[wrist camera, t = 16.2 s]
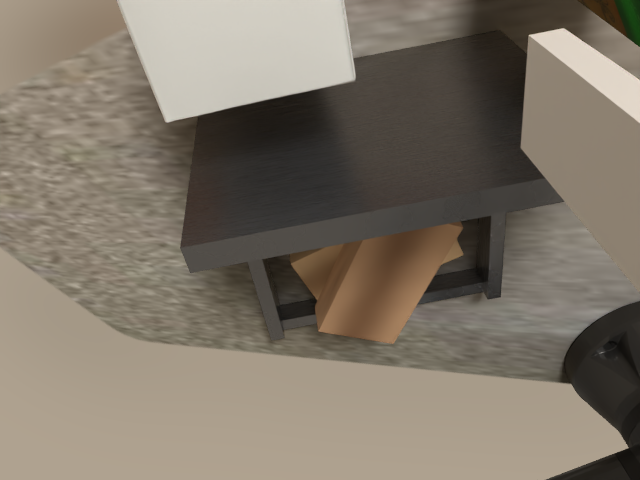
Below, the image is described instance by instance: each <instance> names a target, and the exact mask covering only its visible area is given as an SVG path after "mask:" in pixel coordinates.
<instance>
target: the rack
mask: <svg viewBox="0 0 640 480" xmlns="http://www.w3.org/2000/svg"><path fill="white" fill-rule="evenodd" d="M353 61H354V67H355V74H356V79H355V81H354V82H350V83H345V84H341V85H336V86H331V87H326V88H321V89H316V90H311V91H307V92H302V93H297V94H292V95H287V96H283V97H278V98H274V99H269V100H264V101H259V102H255V103H251V104H246V105H242V106H237V107H233V108H229V109H224V110H221V111H215V112H212V113H208V114H203V115H199V116H198V121H197V128H196V136H195V143H194V150H193V158H192V165H191V173H190V180H189V188H188V195H187V202H186V210H185V217H184V225H183V232H182V239H181V247H180V248H181V251H182V253H183V256H184V258H185V261H186V263H187V266H188V268H189V271H190V273H193V272H198V271H203V270H208V269H214V268H219V267H224V266H229V265H235V264H240V263H245V262H248V266H249V269H250V272H251V275H252V279H253V282H254V285H255V288H256V292H257V295H258V298H259V301H260V305H261V308H262V311H263V315H264V318H265V321H266V324H267V328H268V331H269V334H270V337H271V340H277V339H282V338H284V330H286V329H291V328H296V327H302V326H307V325H312V324H317V319H316V312H315V305H316V303H317V300H316V299H311V300H306V301H301V302H296V303H290V304H285V305H280V303H279V300H278V296H277V292H276V289H275V285H274V282H273V278H272V274H271V271H270V267H269V264H268V260H267V258H271V257H276V256H282V255H287V254H292V253H297V252H303V251H308V250H313V249H318V248H324V247H329V246H334V245H339V244H345V243H350V242H355V241H360V240H366V239H371V238H376V237H381V236H387V235H392V234H397V233H402V232H407V231H413V230H418V229H423V228H428V227H434V226H439V225H444V224H449V223H455V222H460V221H465V220H470V219H476V218H478V243H477V268H474V269H469V270H464V271H459V272H453V273H448V274H443V275H438V276H434V277H433V279H432V280H431V282H430V284H429V285H428V287H427V289H426V290H425V292H424V294H423V295H422V297H421V299H420V300H419V302H418V304H423V303H428V302H433V301H439V300H444V299H449V298H454V297H460V296H465V295H470V294H475V293H481V292H484V293H485V295H486V297H487V299H492V298H498V297H501V284H502V269H503V253H504V237H505V222H506V213H507V212H512V211H518V210H523V209H528V208H533V207H539V206H544V205H549V204H554V203H560V202H565V201H564V200H563V199H562V198H561V196H560V195H559V194H558V193H557V192H556V190H555V189H554V188H553V187H552V186H551V184H550V183H549V182H548V181H547V179H546V178H545V177H544V176H543V175H542V173H541V172H540V171H539V170H538V168H537V167H536V166H535V165H534V164H533V162H532V161H531V160H530V159H529V158H528V156H527V155H526V154H525V153H524V151H523V150H522V149H521V134H522V120H523V106H524V92H525V78H526V64H527V53H526V52H524V51H523V50H522V49H521V48H520V47H519V46H518V45H516V44H515V43H514V42H513V41H512V40H511V39H509V38H508V37H507V36H506V35H505V34H504V33H503V32H501V31H494V32H489V33H484V34H479V35H474V36H468V37H463V38H458V39H453V40H448V41H442V42H437V43H432V44H427V45H422V46H416V47H411V48H406V49H401V50H396V51H391V52H385V53H380V54H375V55H370V56H365V57H359V58H354V59H353Z"/></svg>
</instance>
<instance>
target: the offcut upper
mask: <svg viewBox="0 0 640 480" xmlns="http://www.w3.org/2000/svg"><path fill="white" fill-rule="evenodd" d="M462 229H463V226H462V224H461V222H455V223H449V224H444V225H439V226H434V227H428V228H423V229H418V230H413V231H407V232H402V233H397V234H392V235H387V236H381V237H376V238H371V239H366V240H360V241H355V242H350V243H345V244H344V245H343V247H342V249H341V251H340V253H339V255H338V257H337V260H336V262H335V264H334V266H333V268H332V270H331V272H330V275H329V277H328V279H327V281H326V283H325V285H324V288H323V290H322V292H321V294H320V296H319V298H318V300H317V303H316V305H315V312H316V319H317V325H318V331H319V332H325V333H331V334H337V335H343V336H349V337H355V338H361V339H367V340H373V341H379V342H385V343H391V344H394V342H395V340H396V339H397V337H398V335H399V334H400V332H401V330H402V329H403V327H404V325H405V324H406V322H407V320H408V319H409V317H410V315H411V314H412V312H413V310H414V309H415V307H416V305H417V304H418V302H419V300H420V299H421V297H422V295H423V294H424V292H425V290H426V289H427V287H428V285H429V284H430V282H431V280H432V279H433V277H434V275H435V274H436V272H437V270H438V269H439V267H440V265H441V264H442V262H443V260H444V259H445V257H446V256H447V254H448V252H449V251H450V249H451V247H452V246H453V244H454V242H455V241H456V239H457V237H458V236H459V234H460V232H461V231H462Z"/></svg>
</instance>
